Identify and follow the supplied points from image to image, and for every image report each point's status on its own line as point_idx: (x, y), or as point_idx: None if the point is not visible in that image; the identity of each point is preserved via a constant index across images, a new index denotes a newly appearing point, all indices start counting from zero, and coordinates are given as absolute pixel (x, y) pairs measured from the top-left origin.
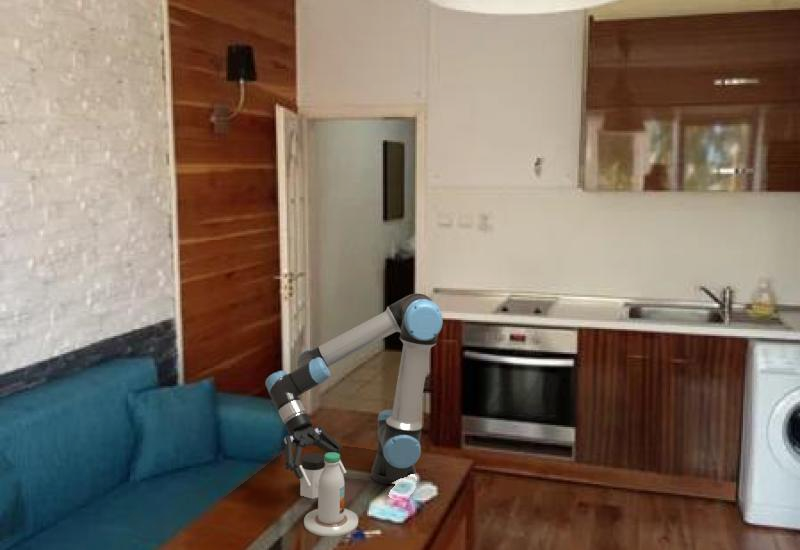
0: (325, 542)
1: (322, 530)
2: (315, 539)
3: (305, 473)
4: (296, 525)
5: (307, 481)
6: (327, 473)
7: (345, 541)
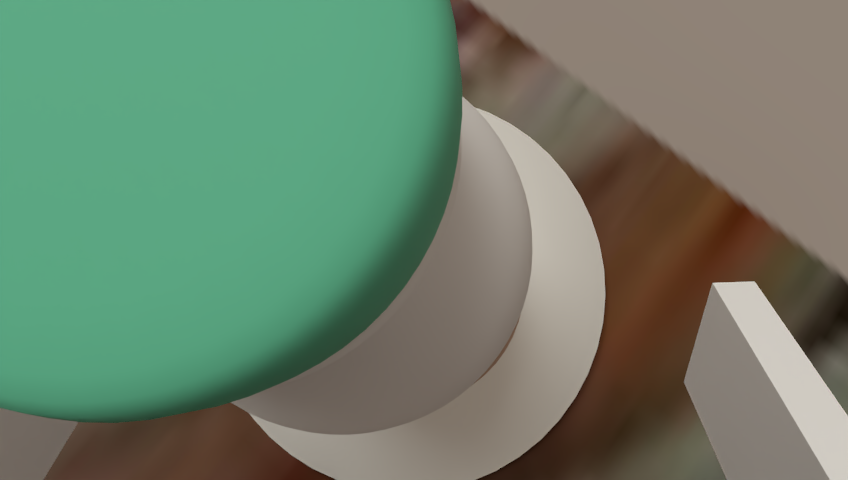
0: (595, 107)
1: (553, 194)
2: (624, 177)
3: (823, 466)
4: (618, 422)
5: (781, 333)
6: (466, 143)
7: (487, 42)
